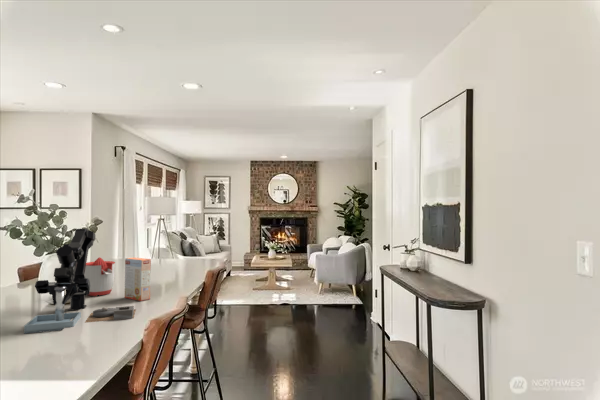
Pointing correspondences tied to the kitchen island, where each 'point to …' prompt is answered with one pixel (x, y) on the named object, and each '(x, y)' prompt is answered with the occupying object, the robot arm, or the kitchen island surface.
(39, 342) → the kitchen island surface
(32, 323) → the tray
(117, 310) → the plate
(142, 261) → the cracker box
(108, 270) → the citrus juicer
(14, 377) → the kitchen island surface
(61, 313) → the lock pin
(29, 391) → the kitchen island surface
